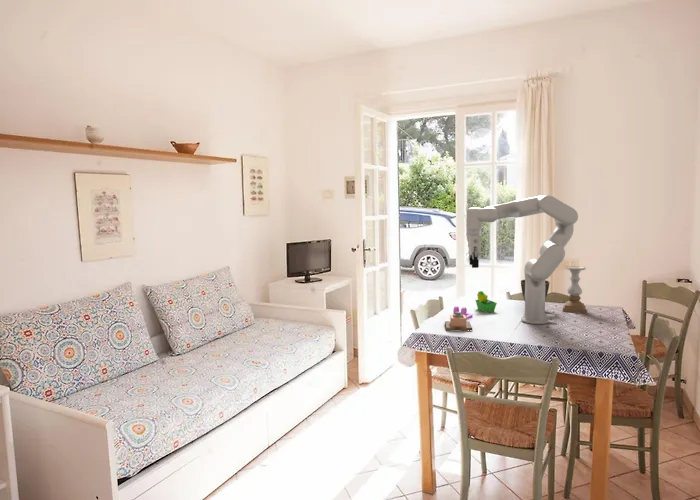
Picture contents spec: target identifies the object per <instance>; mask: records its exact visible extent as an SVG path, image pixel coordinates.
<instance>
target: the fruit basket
mask: <svg viewBox="0 0 700 500" xmlns="http://www.w3.org/2000/svg"><path fill="white" fill-rule="evenodd" d="M488 298H489V297H488V295H487V294H486V293H485V292H484V291H482V290H479V291H478V292H477V299H475V304H476V307H477V310H479V311H480V312H481V311H482V312H484V313H494V312H495V309H496V307H497V304H498V303H497V302H495V301H492V300H490V299H488Z"/></svg>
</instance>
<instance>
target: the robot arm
mask: <svg viewBox="0 0 700 500" xmlns="http://www.w3.org/2000/svg"><path fill="white" fill-rule="evenodd" d="M543 213H544V214H546V215H548V216H550V217H551V218H552V219H554V221H555V227H554V229H553V231H552V233H551V234H550V235H549V236H548V238H547V239H546V241H544V243H543V244H542V245H541V246H540V248H539V252H538V253H539V255H540V256H539V257H538V258H531V259H529V260H528V261H527V262H526V263H525V264H524V270H523V271H524V280H525V301H524V316H523V317H521V322H523V323H525V324H530V325H544V324H548V322H549V320H548V319H555V318H556V315H555V314H551V313H546V300H545V280H546V281H547V280H548V279H549V277H552V276H551V275H552V274H554V272H555V271H556V270H557V268H558V267H559V266H560V265H561V263H562V262H563V260H564V259H565V257H566V256H565V255H566V250H565V247H566V245H567V244H568V243H569V242H570V240H571V238H572V237H573V234H574V227H575V224H576V223H577V221H578V219H579V214H578V211H577V210H576V209H575V208H573V207H572V206H570V205H568V204H567V203H564V202H563V201H561V200H560V199H558V198H556V197H554V196H552V195H550V194H547V195H546V194H543V195H537V196H533V197H531V196H530V197H527V198H523V199H522V198H521V199H518V200H512V201H508V202H504V203H499V204H494V205H489V206H485V207H484V208H483V207H482V208H481V207H469V208H467V209H466V222H465V223H466V224H465V225H466V228H465V229H466V236H467V237H468V254H469V263H468V264H469V265H470V266H471V268H472V269H473V268H475V269H476V268H477V269H478V268H479V265H480V263H479V256H481V255H482V252H481V251H482V249H481V247H482V246H481V236H483V222H484V223H494V222H496V221H497V220H501V219H509V218H512V219H513V218H516V219H517V218H524V217H528V216H534V215H538V214H543Z"/></svg>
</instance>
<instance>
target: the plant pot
mask: <svg viewBox="0 0 700 500" xmlns="http://www.w3.org/2000/svg"><path fill="white" fill-rule="evenodd" d="M520 286H521V287H520V288H521V292H522V297H523V298H522V299H523V300H524V302H525V279H521V280H520ZM549 289H550V281H549V280H547V279H546V280H545V301H546V299H547V297H548V294H549Z"/></svg>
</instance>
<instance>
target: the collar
mask: <svg viewBox="0 0 700 500" xmlns="http://www.w3.org/2000/svg"><path fill="white" fill-rule="evenodd" d="M449 316H450V318H449V320H450V323H451V326H465V327H466V321H467V320H466V316H465V315H461V318H455V315H453V314H450V315H449Z"/></svg>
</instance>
